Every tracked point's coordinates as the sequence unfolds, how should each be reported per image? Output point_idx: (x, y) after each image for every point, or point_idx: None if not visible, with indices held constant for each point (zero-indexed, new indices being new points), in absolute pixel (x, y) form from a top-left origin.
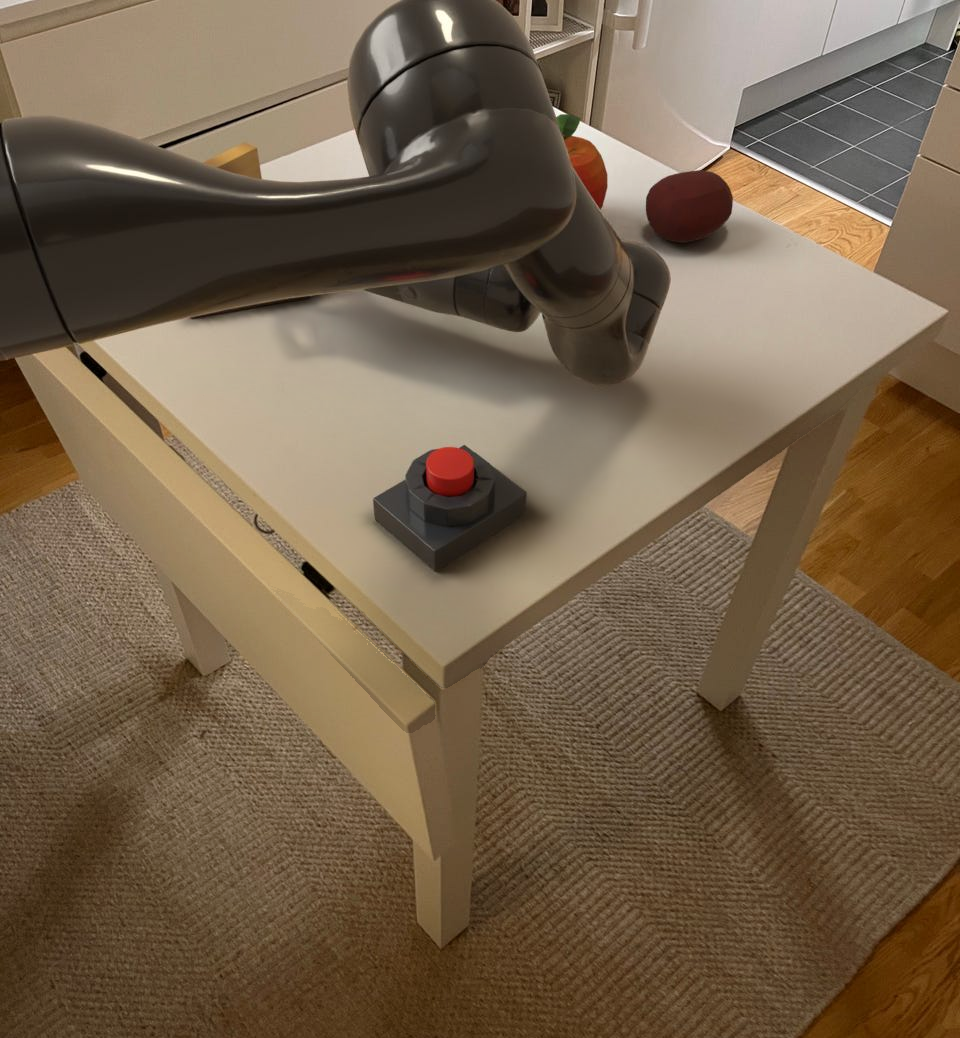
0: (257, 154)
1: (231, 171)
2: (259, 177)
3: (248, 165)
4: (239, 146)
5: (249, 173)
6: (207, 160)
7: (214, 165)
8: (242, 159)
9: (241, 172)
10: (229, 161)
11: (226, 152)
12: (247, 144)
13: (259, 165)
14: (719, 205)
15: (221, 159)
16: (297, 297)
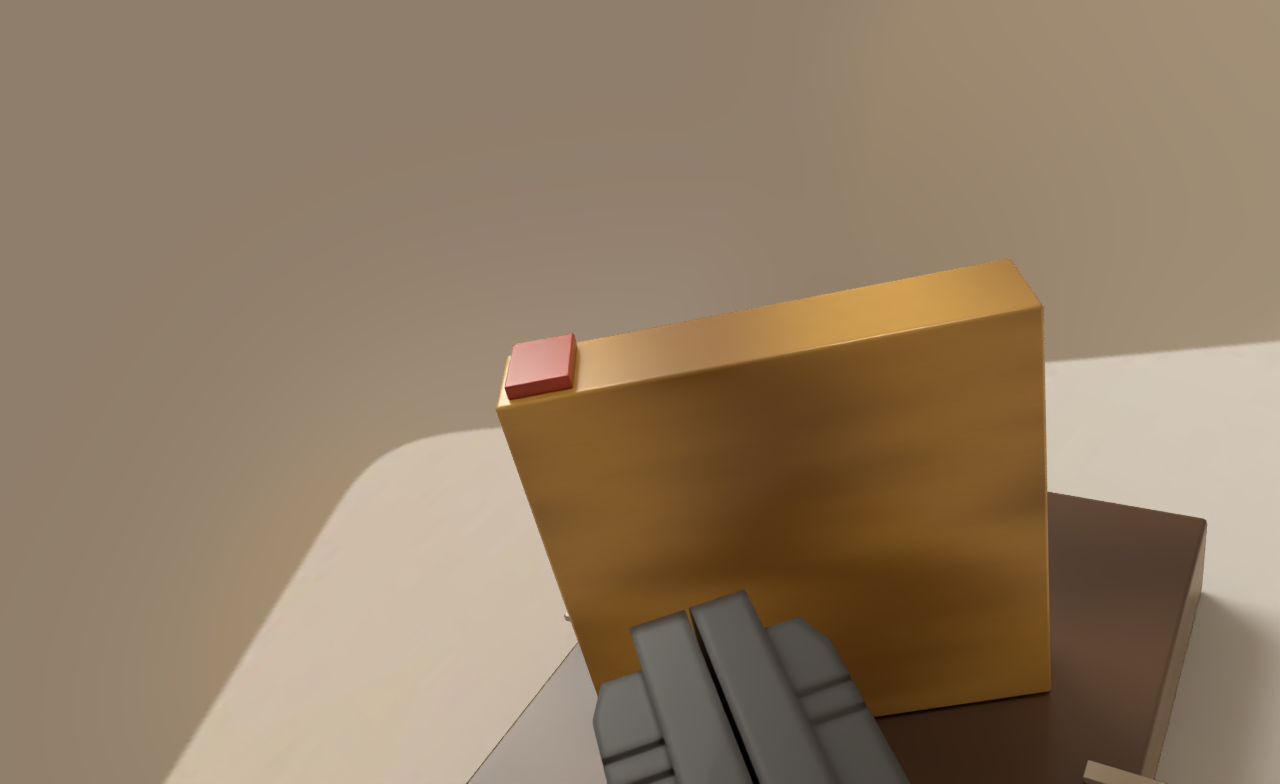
0: (1039, 341)
1: (821, 400)
2: (1029, 456)
3: (955, 388)
4: (956, 276)
5: (955, 428)
6: (726, 313)
7: (719, 351)
8: (912, 352)
9: (896, 415)
10: (812, 349)
11: (857, 294)
12: (1007, 275)
13: (1043, 399)
14: None
15: (787, 326)
16: None
